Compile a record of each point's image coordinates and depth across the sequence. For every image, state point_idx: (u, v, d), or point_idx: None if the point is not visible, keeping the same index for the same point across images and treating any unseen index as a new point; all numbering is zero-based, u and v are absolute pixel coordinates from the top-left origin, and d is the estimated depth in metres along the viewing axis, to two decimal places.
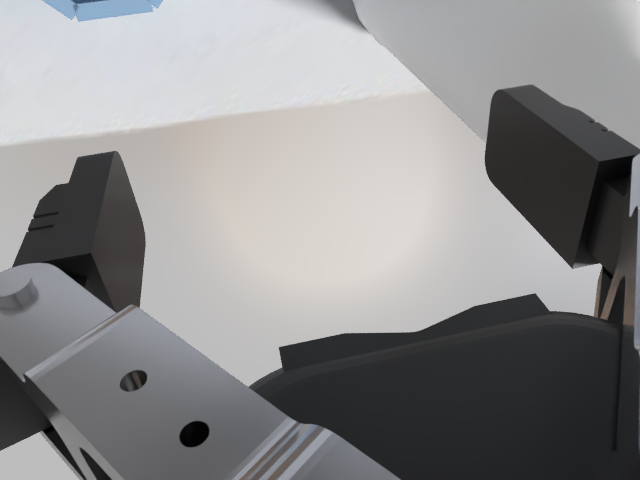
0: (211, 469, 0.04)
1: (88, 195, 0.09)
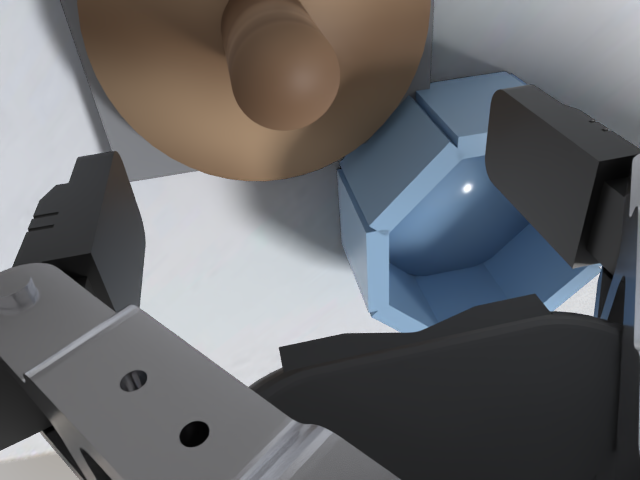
0: (211, 470, 0.04)
1: (88, 195, 0.09)
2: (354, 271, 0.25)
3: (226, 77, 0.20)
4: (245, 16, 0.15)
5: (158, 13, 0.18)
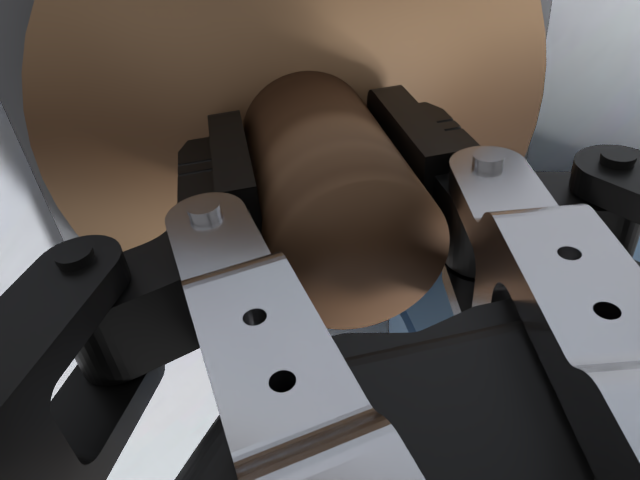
0: (284, 417, 0.05)
1: (232, 143, 0.10)
2: None
3: None
4: (288, 147, 0.09)
5: (148, 119, 0.12)
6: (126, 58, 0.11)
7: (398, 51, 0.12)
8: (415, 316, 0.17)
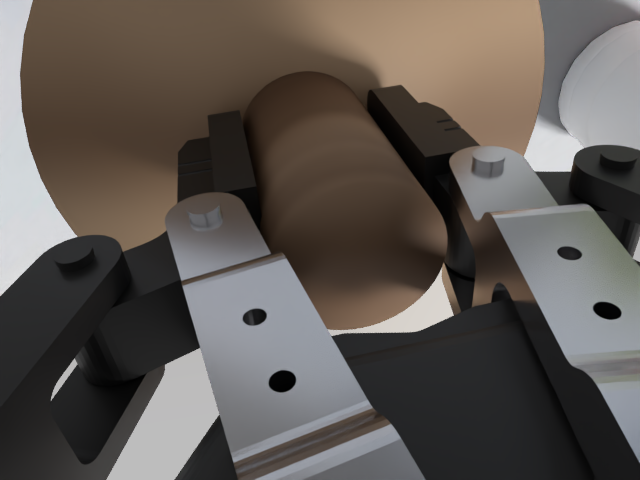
0: (284, 418, 0.05)
1: (232, 144, 0.10)
2: None
3: None
4: (286, 147, 0.09)
5: (147, 119, 0.12)
6: (125, 59, 0.11)
7: (396, 52, 0.12)
8: None
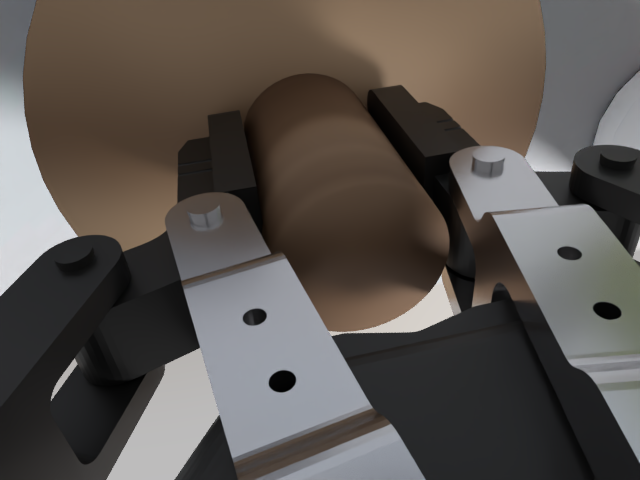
0: (282, 418, 0.05)
1: (232, 144, 0.10)
2: None
3: None
4: (289, 150, 0.10)
5: (149, 121, 0.12)
6: (127, 61, 0.11)
7: (398, 54, 0.12)
8: None
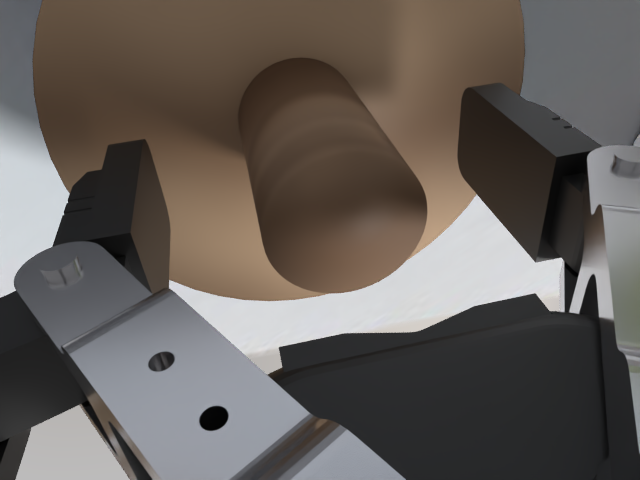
0: (227, 454, 0.04)
1: (122, 180, 0.09)
2: None
3: (244, 180, 0.14)
4: (280, 124, 0.10)
5: (150, 103, 0.13)
6: (130, 45, 0.12)
7: (384, 39, 0.13)
8: None
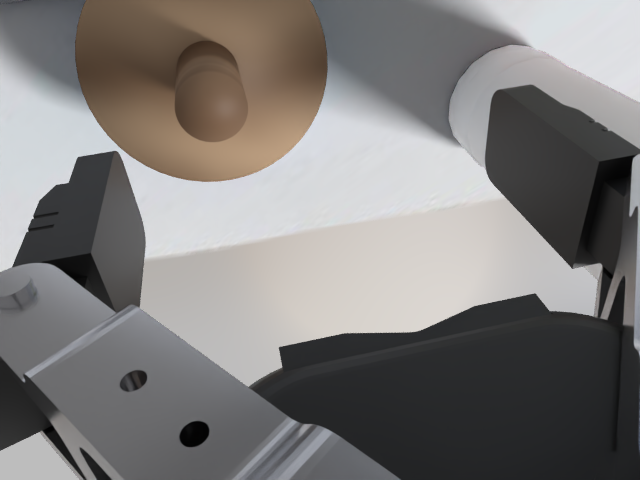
0: (212, 470, 0.04)
1: (88, 195, 0.09)
2: None
3: None
4: (186, 67, 0.23)
5: (131, 64, 0.26)
6: (121, 35, 0.25)
7: (247, 31, 0.26)
8: None
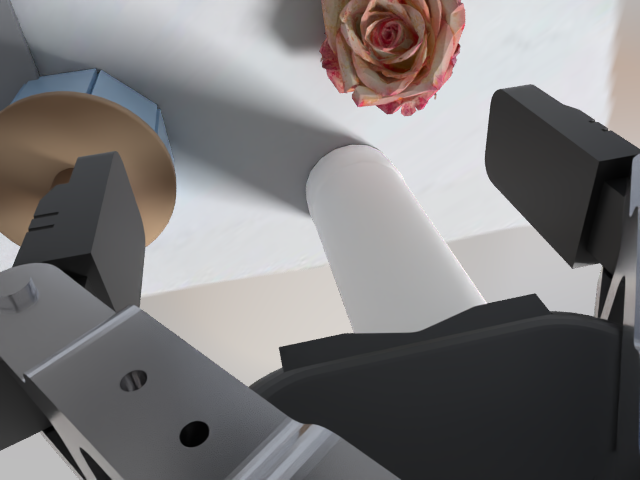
0: (212, 470, 0.04)
1: (88, 195, 0.09)
2: None
3: None
4: None
5: (16, 185, 0.34)
6: (5, 166, 0.33)
7: None
8: None
